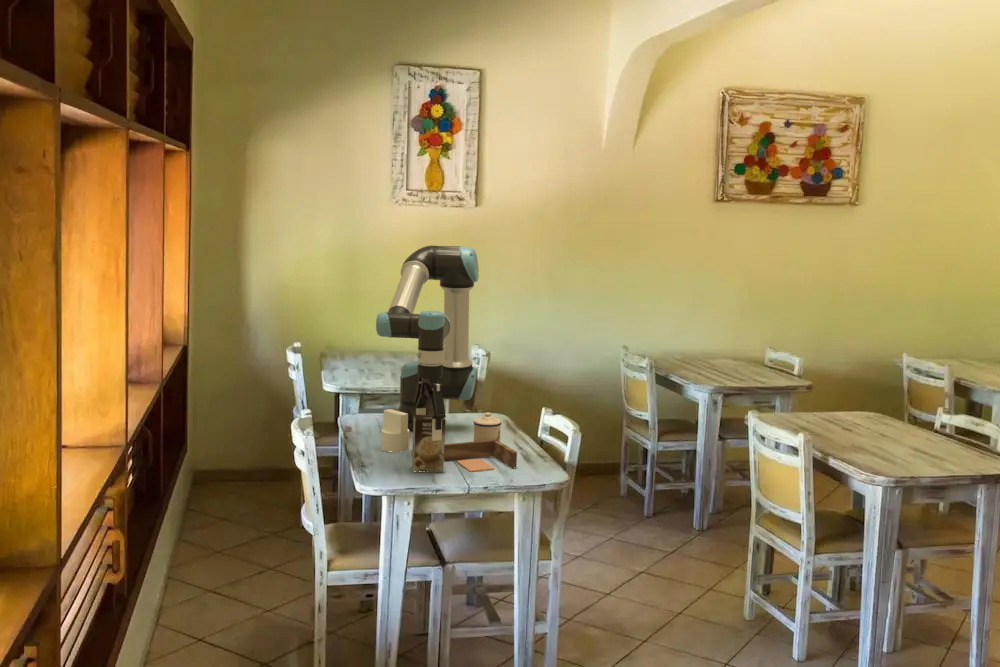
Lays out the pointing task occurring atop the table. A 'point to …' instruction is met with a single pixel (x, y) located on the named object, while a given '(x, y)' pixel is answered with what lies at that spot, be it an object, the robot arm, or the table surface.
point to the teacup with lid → (486, 428)
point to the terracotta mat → (475, 465)
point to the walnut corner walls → (481, 451)
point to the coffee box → (427, 446)
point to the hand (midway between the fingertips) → (428, 434)
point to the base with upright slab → (395, 431)
